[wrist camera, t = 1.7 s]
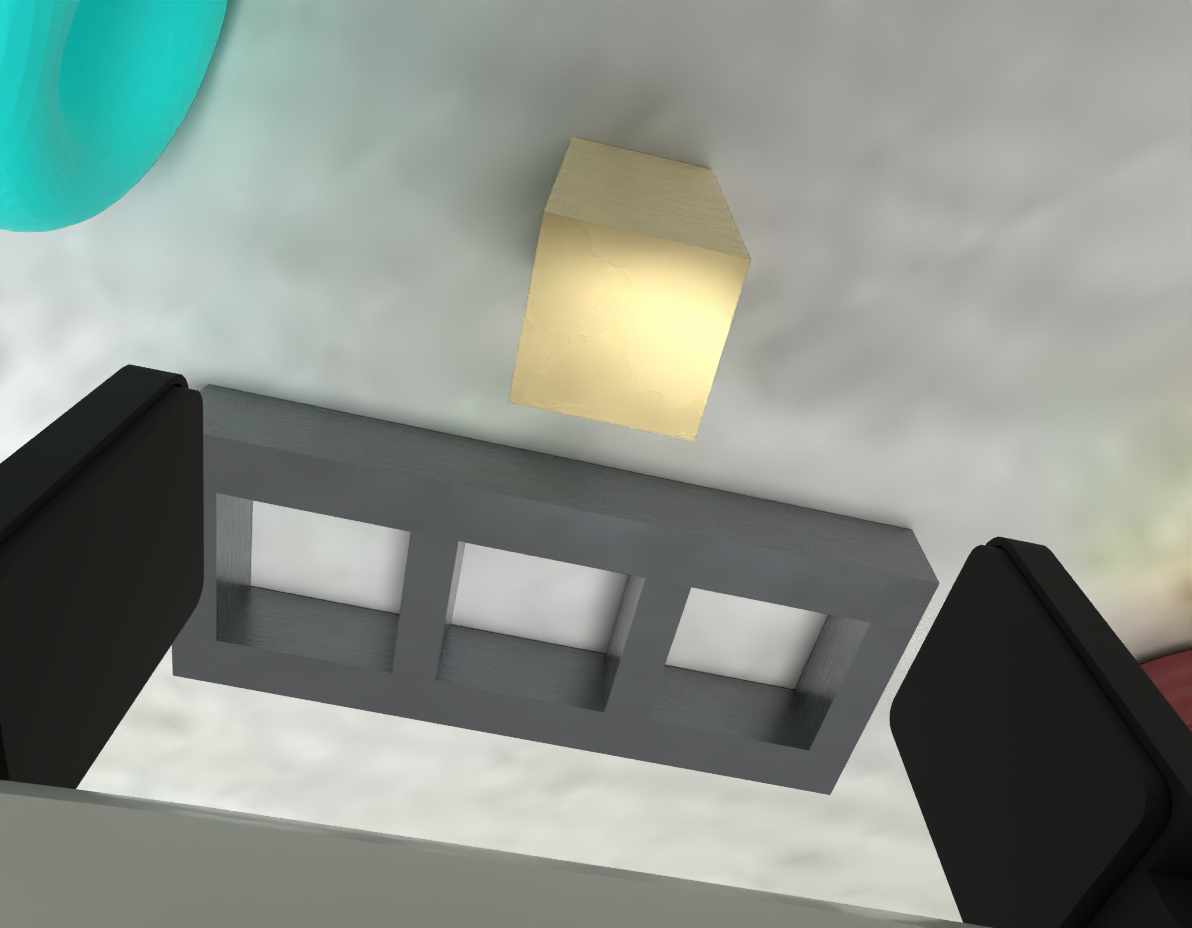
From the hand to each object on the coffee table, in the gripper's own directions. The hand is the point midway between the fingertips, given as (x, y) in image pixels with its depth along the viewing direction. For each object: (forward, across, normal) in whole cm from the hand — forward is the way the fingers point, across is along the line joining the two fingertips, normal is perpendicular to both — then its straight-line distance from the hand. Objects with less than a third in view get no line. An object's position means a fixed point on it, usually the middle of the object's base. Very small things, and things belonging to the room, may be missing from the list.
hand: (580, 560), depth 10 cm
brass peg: (+17, -1, 0) cm, 17 cm away
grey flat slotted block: (+17, -1, +13) cm, 21 cm away
